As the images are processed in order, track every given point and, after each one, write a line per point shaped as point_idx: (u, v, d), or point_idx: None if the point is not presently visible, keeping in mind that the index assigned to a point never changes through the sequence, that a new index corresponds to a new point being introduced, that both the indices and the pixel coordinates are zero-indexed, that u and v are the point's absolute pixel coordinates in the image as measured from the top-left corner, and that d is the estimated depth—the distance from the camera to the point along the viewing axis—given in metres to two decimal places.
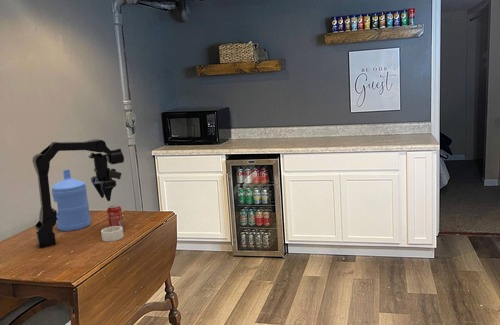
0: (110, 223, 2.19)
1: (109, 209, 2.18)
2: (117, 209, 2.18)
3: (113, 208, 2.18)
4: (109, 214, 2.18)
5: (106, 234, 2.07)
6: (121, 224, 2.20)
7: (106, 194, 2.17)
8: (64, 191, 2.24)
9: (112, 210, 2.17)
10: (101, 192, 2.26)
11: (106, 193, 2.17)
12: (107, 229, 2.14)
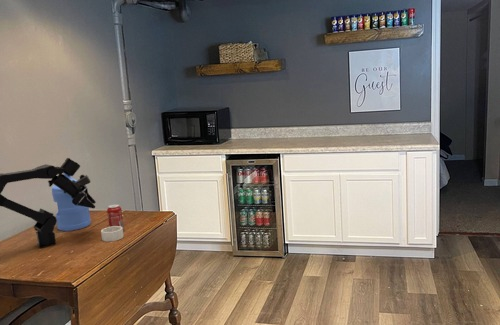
0: (110, 223, 2.19)
1: (109, 209, 2.18)
2: (117, 209, 2.18)
3: (113, 208, 2.18)
4: (109, 214, 2.18)
5: (106, 234, 2.07)
6: (121, 224, 2.20)
7: (86, 205, 2.11)
8: None
9: (112, 210, 2.17)
10: (90, 200, 2.21)
11: (85, 204, 2.11)
12: (107, 229, 2.14)
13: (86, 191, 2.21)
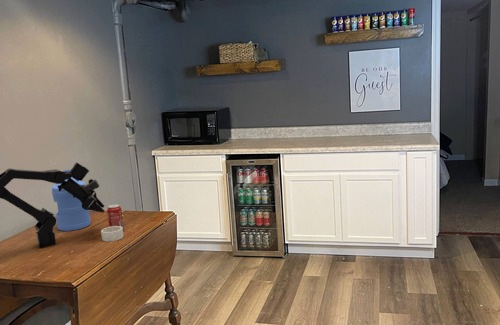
0: (110, 223, 2.19)
1: (109, 209, 2.18)
2: (117, 209, 2.18)
3: (113, 208, 2.18)
4: (109, 214, 2.18)
5: (106, 234, 2.07)
6: (121, 224, 2.20)
7: (96, 209, 2.12)
8: (64, 191, 2.24)
9: (112, 210, 2.17)
10: (99, 204, 2.23)
11: (95, 209, 2.12)
12: (107, 229, 2.14)
13: (95, 195, 2.22)
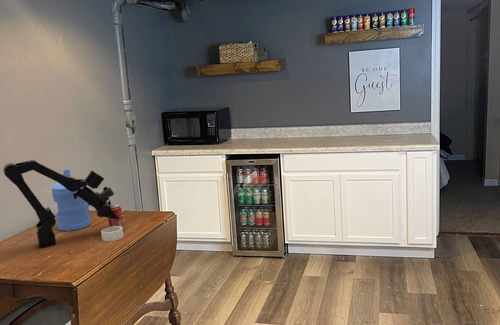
0: (110, 223, 2.19)
1: None
2: (117, 209, 2.18)
3: (113, 208, 2.18)
4: None
5: (106, 234, 2.07)
6: (121, 224, 2.20)
7: (110, 216, 2.16)
8: (64, 191, 2.24)
9: (112, 210, 2.17)
10: None
11: (109, 216, 2.16)
12: (107, 229, 2.14)
13: (109, 203, 2.23)
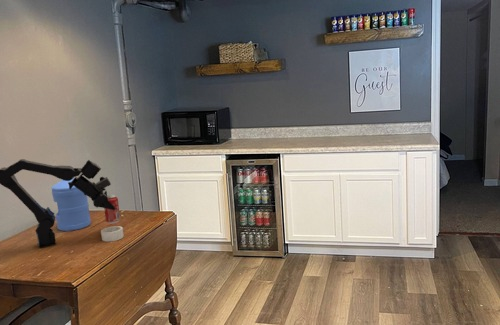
0: (106, 214, 2.14)
1: None
2: (114, 199, 2.13)
3: (110, 198, 2.13)
4: None
5: (106, 234, 2.07)
6: (118, 215, 2.15)
7: (107, 207, 2.11)
8: (64, 191, 2.24)
9: (108, 200, 2.12)
10: None
11: (106, 206, 2.11)
12: (107, 229, 2.14)
13: (105, 194, 2.18)
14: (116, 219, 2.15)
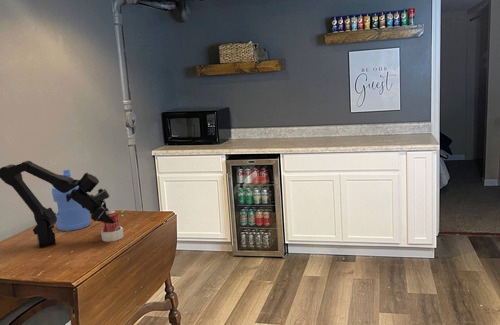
0: (105, 230, 2.09)
1: None
2: (113, 215, 2.08)
3: (109, 214, 2.07)
4: None
5: (106, 234, 2.07)
6: None
7: (105, 220, 2.04)
8: None
9: None
10: None
11: (105, 220, 2.04)
12: None
13: (104, 205, 2.14)
14: None
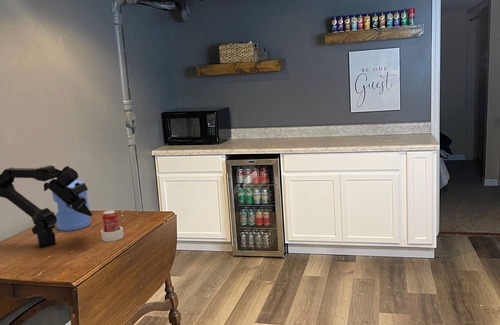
0: (105, 230, 2.09)
1: (104, 215, 2.08)
2: (113, 215, 2.08)
3: (109, 214, 2.07)
4: (104, 221, 2.08)
5: (106, 234, 2.07)
6: None
7: (84, 212, 2.03)
8: None
9: (107, 216, 2.07)
10: None
11: (83, 211, 2.03)
12: None
13: None
14: None
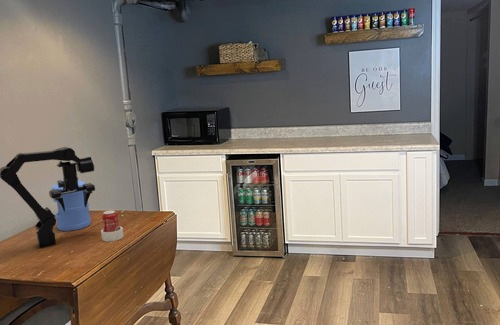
0: (105, 230, 2.09)
1: (104, 215, 2.08)
2: (113, 215, 2.08)
3: (109, 214, 2.07)
4: (104, 221, 2.08)
5: (106, 234, 2.07)
6: None
7: None
8: None
9: (107, 216, 2.07)
10: (63, 205, 2.12)
11: None
12: None
13: None
14: None
